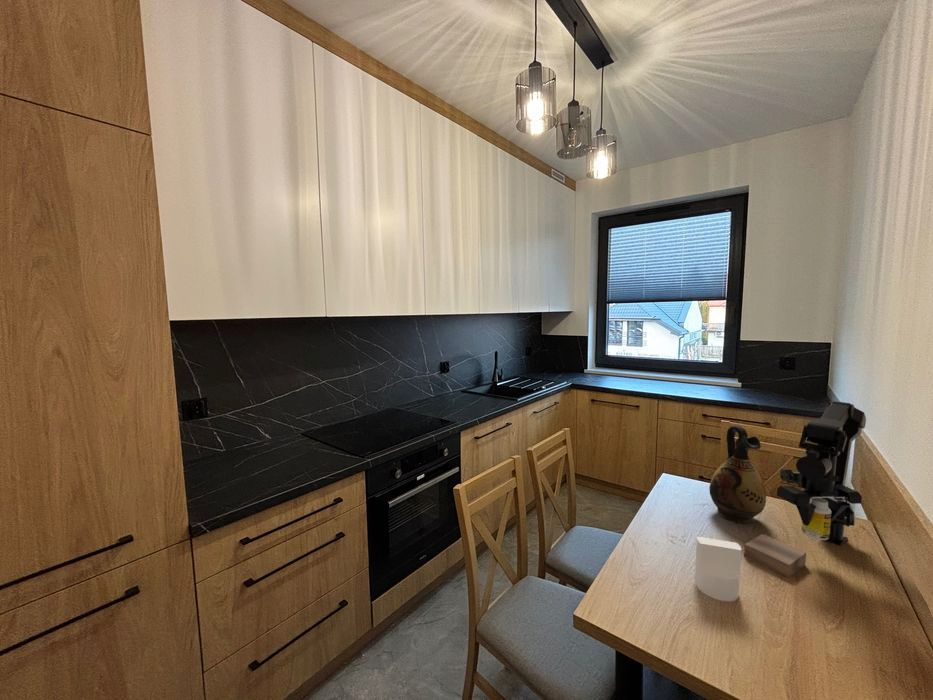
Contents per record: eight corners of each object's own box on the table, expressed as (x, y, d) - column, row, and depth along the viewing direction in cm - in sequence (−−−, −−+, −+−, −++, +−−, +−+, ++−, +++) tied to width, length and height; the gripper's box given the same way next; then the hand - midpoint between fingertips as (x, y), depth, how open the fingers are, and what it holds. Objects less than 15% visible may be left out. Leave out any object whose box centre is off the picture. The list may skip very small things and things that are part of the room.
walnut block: (761, 546, 110) (762, 533, 109) (805, 566, 101) (806, 552, 100) (743, 557, 105) (744, 544, 104) (787, 579, 96) (789, 565, 96)
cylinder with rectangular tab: (731, 581, 95) (734, 536, 94) (744, 607, 87) (747, 558, 86) (690, 573, 98) (692, 529, 97) (699, 598, 90) (702, 550, 88)
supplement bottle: (825, 543, 99) (828, 506, 98) (798, 533, 103) (801, 498, 102) (831, 536, 102) (835, 500, 101) (805, 527, 106) (808, 492, 105)
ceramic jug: (777, 528, 118) (784, 435, 115) (727, 528, 118) (733, 436, 115) (739, 501, 135) (744, 420, 132) (695, 501, 135) (700, 420, 132)
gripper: (823, 457, 109) (819, 508, 111) (762, 458, 108) (758, 510, 110) (866, 473, 98) (860, 529, 100) (797, 475, 97) (793, 532, 99)
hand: (815, 524), depth 102 cm, fingers closed on supplement bottle, 5 cm apart
